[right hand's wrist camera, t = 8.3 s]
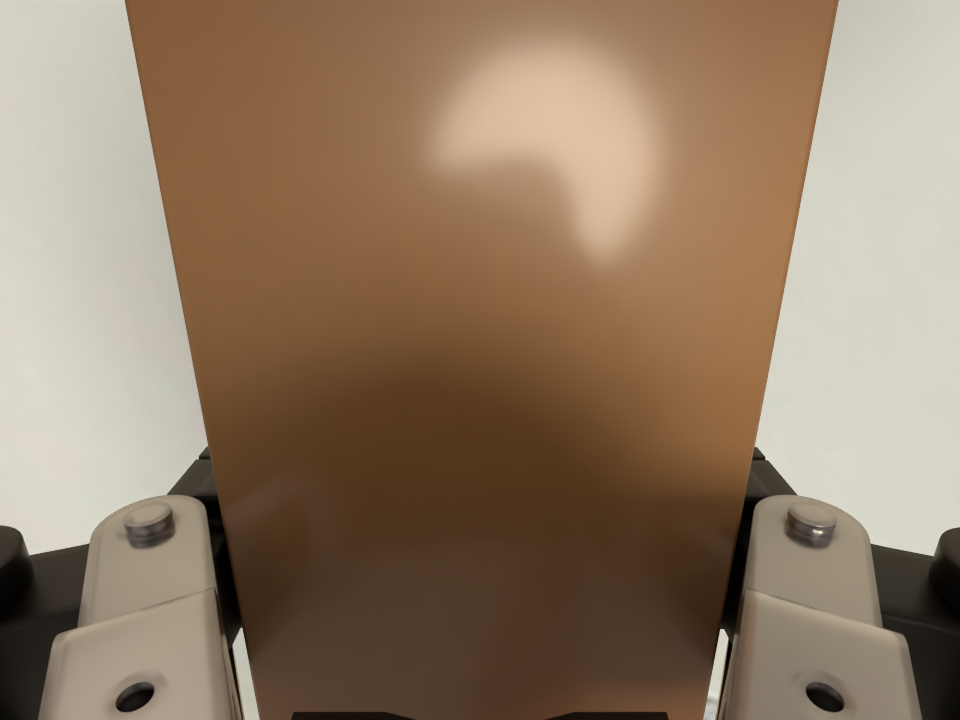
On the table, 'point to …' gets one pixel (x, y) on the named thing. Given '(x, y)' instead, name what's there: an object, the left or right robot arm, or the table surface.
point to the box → (481, 330)
